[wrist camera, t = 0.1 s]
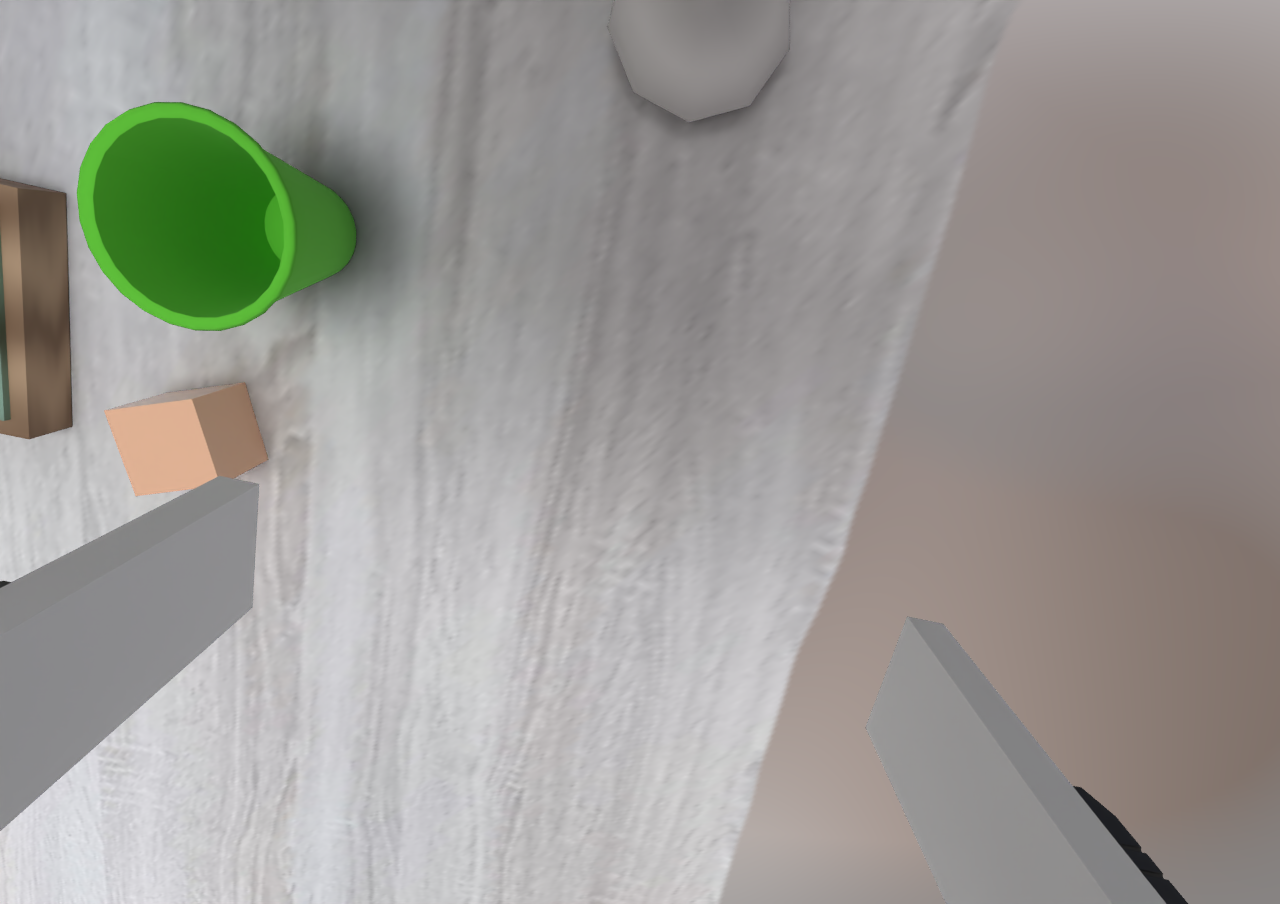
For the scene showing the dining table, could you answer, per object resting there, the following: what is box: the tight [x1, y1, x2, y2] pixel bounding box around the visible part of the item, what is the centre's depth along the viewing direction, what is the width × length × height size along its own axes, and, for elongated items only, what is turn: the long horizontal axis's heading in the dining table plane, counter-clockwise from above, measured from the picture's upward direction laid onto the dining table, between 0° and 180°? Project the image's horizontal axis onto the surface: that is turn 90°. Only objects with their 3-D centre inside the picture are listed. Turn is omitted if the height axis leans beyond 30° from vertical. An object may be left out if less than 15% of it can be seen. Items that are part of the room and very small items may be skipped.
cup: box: [77, 102, 356, 331], centre depth 33 cm, size 9×9×11 cm
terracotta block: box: [104, 382, 268, 496], centre depth 39 cm, size 5×5×5 cm
